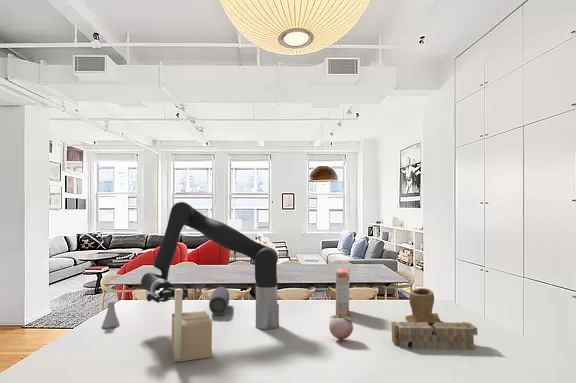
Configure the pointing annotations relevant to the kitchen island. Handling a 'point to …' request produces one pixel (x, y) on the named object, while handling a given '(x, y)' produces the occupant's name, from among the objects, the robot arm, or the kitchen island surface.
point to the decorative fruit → (340, 327)
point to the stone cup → (422, 306)
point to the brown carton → (190, 320)
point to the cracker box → (342, 292)
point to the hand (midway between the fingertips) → (171, 298)
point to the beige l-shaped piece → (190, 336)
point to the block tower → (434, 335)
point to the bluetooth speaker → (219, 300)
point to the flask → (110, 317)
